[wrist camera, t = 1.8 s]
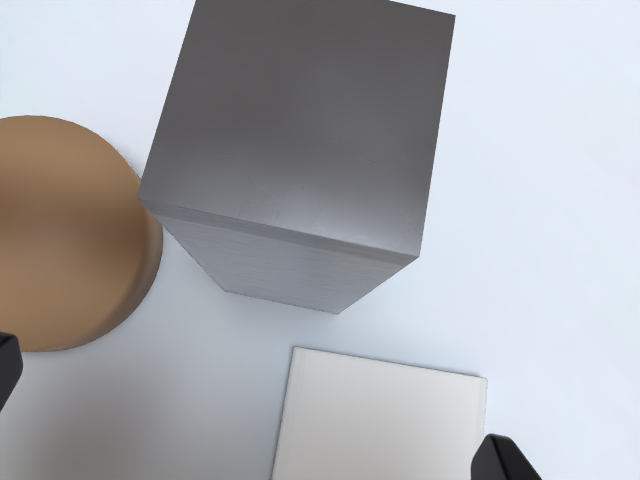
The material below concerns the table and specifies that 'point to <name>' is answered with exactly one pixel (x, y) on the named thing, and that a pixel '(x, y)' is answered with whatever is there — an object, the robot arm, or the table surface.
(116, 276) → the stand
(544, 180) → the table surface
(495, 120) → the table surface
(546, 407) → the table surface
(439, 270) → the table surface
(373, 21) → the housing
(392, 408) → the external hard drive
